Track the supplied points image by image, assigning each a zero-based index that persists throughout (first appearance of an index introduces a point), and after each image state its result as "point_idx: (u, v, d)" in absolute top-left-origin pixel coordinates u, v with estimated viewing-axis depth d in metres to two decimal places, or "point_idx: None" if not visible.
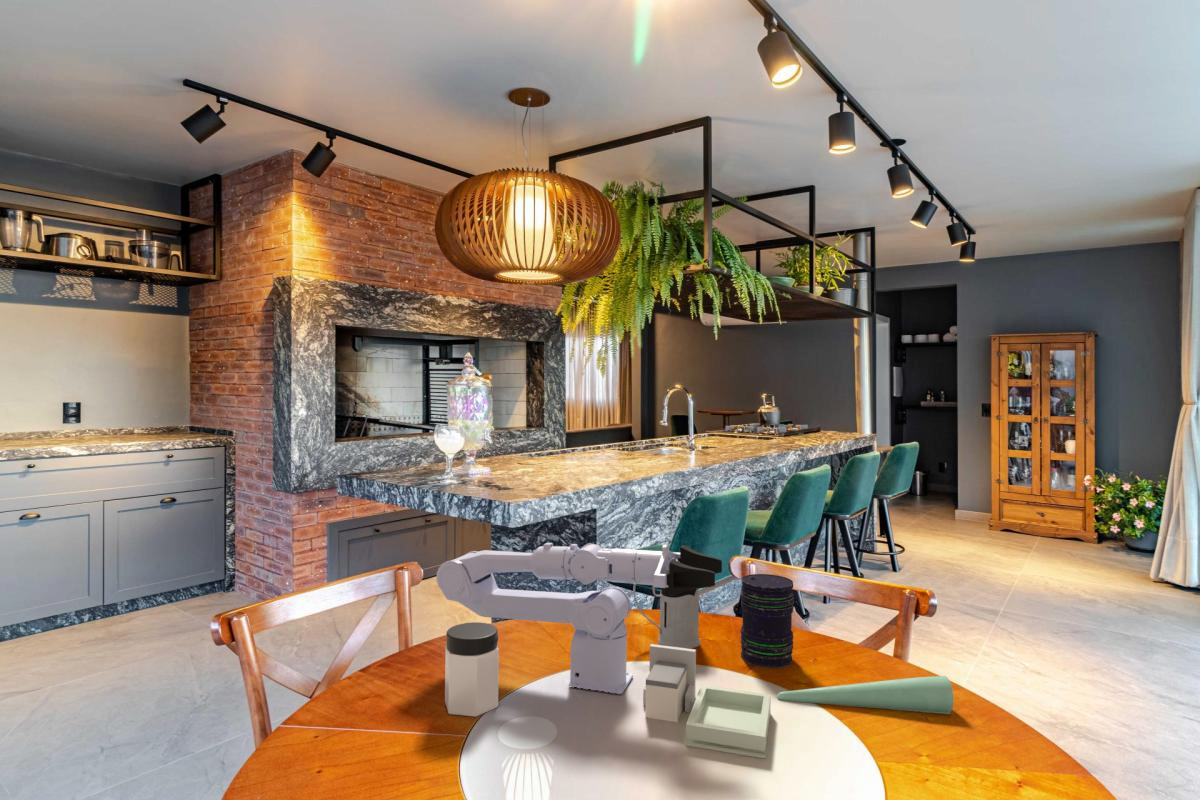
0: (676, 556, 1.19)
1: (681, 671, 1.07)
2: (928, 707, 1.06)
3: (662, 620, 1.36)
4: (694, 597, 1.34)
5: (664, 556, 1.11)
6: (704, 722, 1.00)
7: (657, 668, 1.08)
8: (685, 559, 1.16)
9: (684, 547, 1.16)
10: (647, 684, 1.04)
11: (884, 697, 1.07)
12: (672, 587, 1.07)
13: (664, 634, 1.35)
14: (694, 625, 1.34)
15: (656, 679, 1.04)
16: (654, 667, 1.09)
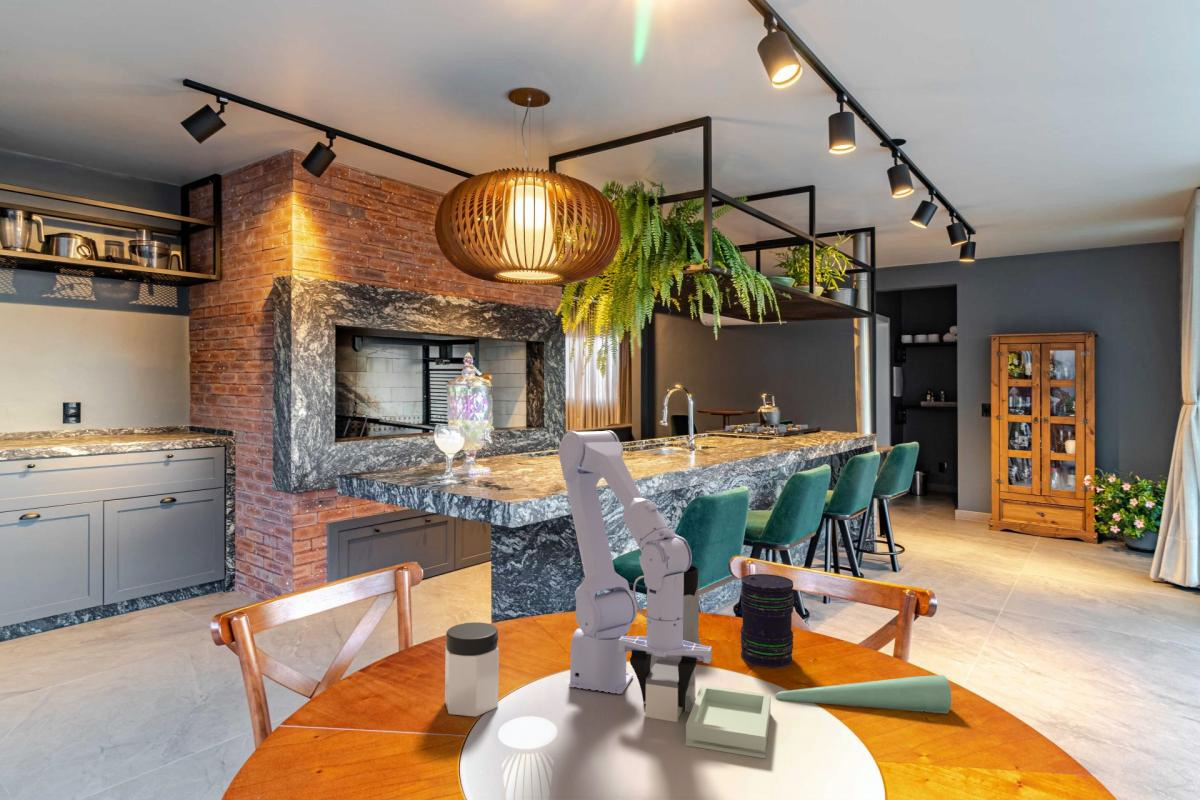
0: (701, 655, 1.03)
1: None
2: (926, 706, 1.06)
3: None
4: (694, 597, 1.34)
5: (649, 651, 1.03)
6: (704, 722, 1.00)
7: (657, 667, 1.08)
8: None
9: (682, 669, 1.02)
10: (647, 683, 1.04)
11: (882, 696, 1.08)
12: None
13: None
14: (694, 625, 1.34)
15: (656, 678, 1.04)
16: (654, 666, 1.09)
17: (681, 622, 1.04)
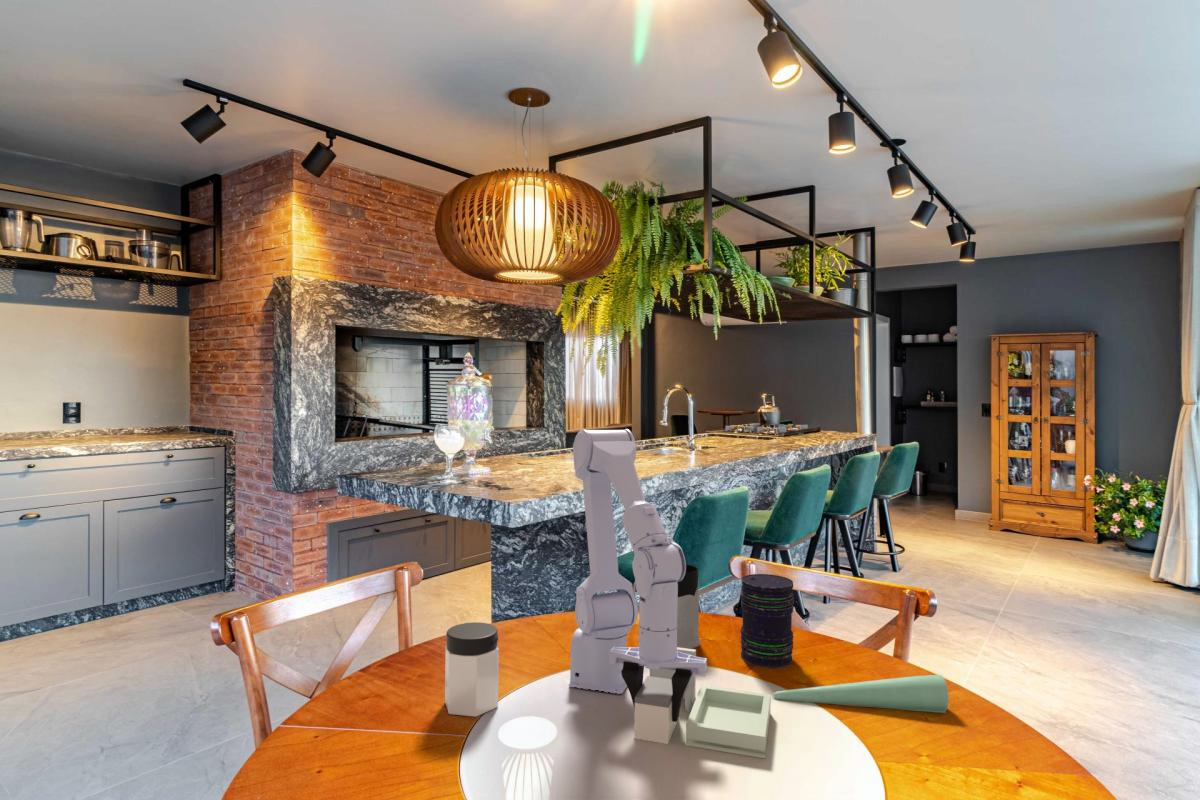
0: None
1: None
2: (923, 706, 1.07)
3: None
4: (694, 597, 1.34)
5: (642, 663, 0.99)
6: (704, 722, 1.00)
7: (647, 684, 1.02)
8: None
9: (676, 682, 0.97)
10: (636, 702, 0.97)
11: (879, 696, 1.08)
12: None
13: None
14: (694, 625, 1.34)
15: (646, 697, 0.98)
16: (644, 683, 1.02)
17: (675, 633, 0.99)
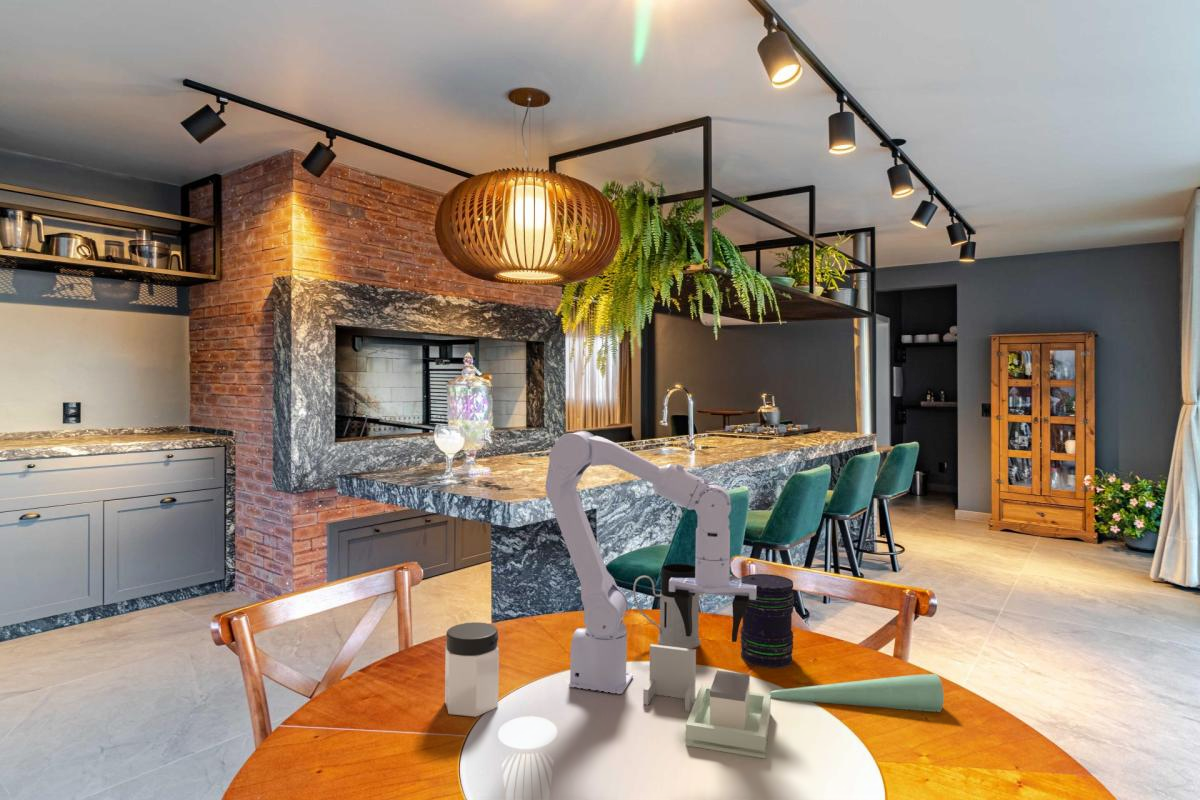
0: (747, 592, 1.11)
1: (746, 682, 1.01)
2: (919, 705, 1.07)
3: (662, 620, 1.36)
4: (694, 597, 1.34)
5: (699, 589, 1.11)
6: (704, 722, 1.00)
7: (719, 678, 1.02)
8: None
9: (736, 606, 1.09)
10: (711, 696, 0.97)
11: (875, 695, 1.08)
12: None
13: (664, 634, 1.35)
14: (694, 625, 1.34)
15: (721, 691, 0.98)
16: (716, 677, 1.02)
17: (728, 562, 1.12)
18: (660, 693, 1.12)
